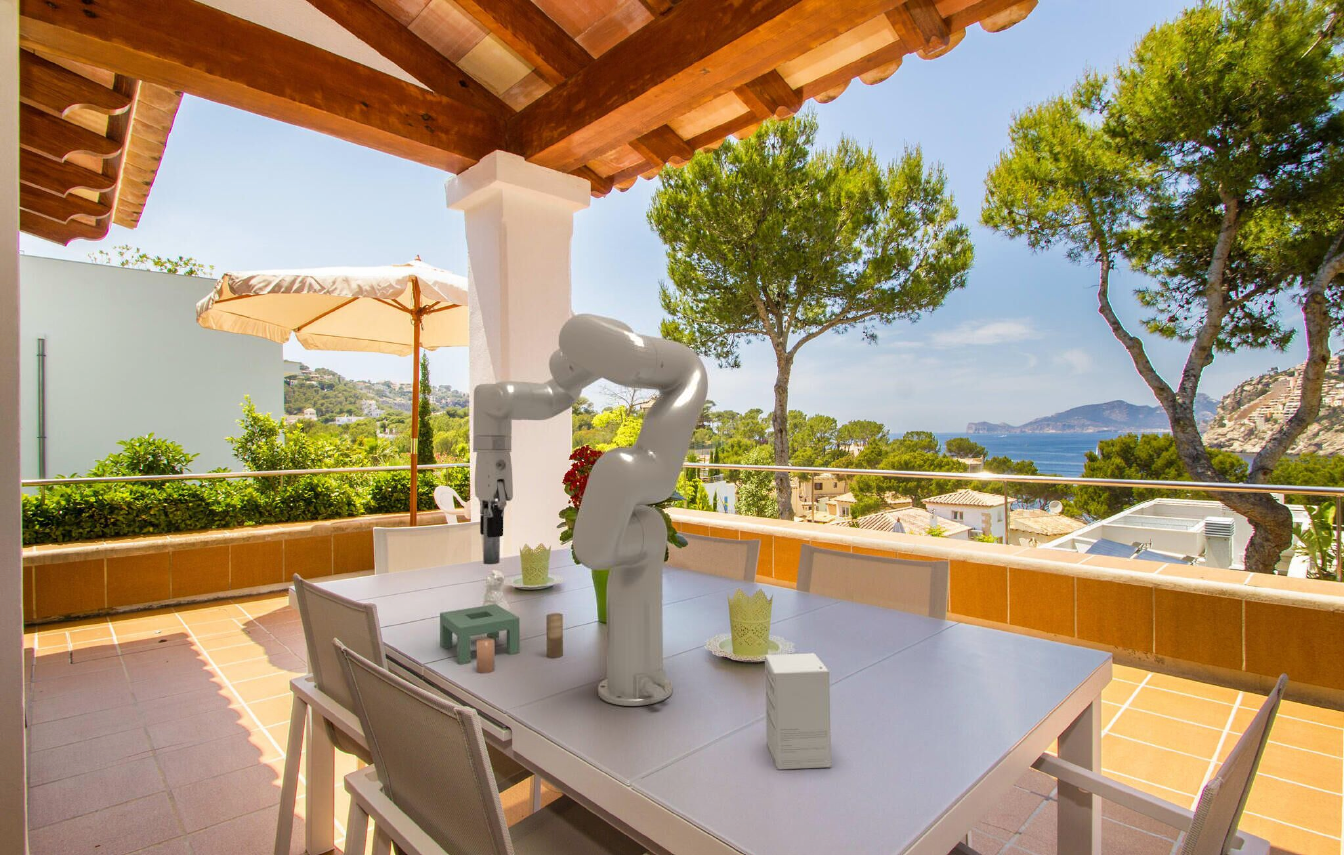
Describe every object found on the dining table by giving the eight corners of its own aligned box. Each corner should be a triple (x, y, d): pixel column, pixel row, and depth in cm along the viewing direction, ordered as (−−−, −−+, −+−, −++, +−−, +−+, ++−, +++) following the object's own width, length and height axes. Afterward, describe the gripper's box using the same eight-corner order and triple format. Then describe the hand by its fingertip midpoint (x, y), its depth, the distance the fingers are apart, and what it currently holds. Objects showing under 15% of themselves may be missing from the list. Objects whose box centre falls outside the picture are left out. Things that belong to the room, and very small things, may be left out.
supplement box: (817, 742, 92) (816, 651, 92) (832, 768, 85) (830, 670, 85) (765, 744, 92) (763, 653, 92) (775, 770, 84) (773, 671, 85)
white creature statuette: (470, 617, 160) (469, 568, 161) (505, 612, 164) (505, 564, 165) (477, 626, 152) (477, 574, 152) (514, 621, 156) (514, 571, 156)
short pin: (497, 670, 122) (496, 641, 123) (480, 674, 121) (479, 644, 121) (491, 666, 125) (491, 637, 125) (474, 669, 123) (474, 640, 123)
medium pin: (565, 656, 130) (565, 615, 131) (550, 659, 129) (550, 618, 129) (558, 651, 133) (558, 612, 133) (544, 654, 131) (543, 614, 131)
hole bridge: (519, 652, 133) (519, 617, 133) (460, 664, 126) (459, 627, 126) (495, 636, 144) (495, 604, 145) (440, 646, 138) (439, 612, 138)
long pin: (501, 563, 132) (502, 508, 132) (486, 564, 131) (486, 509, 131) (496, 560, 135) (496, 507, 135) (481, 562, 133) (481, 508, 133)
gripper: (525, 445, 128) (524, 539, 128) (496, 444, 142) (495, 528, 142) (487, 445, 124) (487, 543, 124) (461, 444, 138) (460, 531, 138)
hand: (491, 534), depth 133 cm, fingers closed on long pin, 3 cm apart
